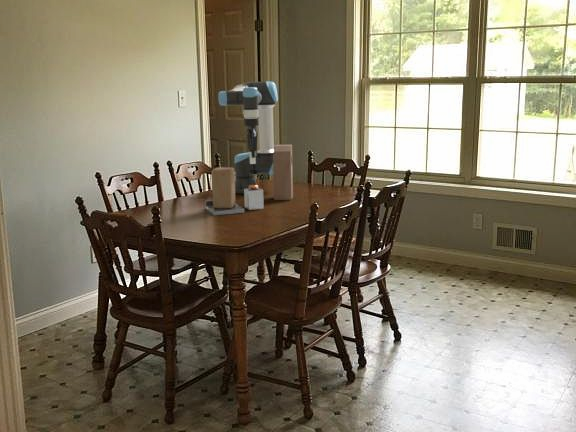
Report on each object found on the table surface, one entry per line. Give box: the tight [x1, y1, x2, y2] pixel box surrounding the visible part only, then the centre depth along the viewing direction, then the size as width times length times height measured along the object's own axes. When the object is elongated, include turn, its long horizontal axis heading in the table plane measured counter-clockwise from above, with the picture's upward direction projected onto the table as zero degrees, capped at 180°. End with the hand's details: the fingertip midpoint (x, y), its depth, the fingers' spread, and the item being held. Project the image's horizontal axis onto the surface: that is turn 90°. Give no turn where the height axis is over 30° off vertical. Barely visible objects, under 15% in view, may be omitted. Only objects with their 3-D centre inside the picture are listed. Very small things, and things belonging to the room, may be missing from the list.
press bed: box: [204, 199, 245, 216], centre depth 330 cm, size 18×16×4 cm
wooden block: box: [211, 167, 237, 208], centre depth 328 cm, size 10×10×20 cm
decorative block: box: [272, 144, 294, 201], centre depth 357 cm, size 10×10×30 cm
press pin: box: [249, 184, 259, 190], centre depth 334 cm, size 5×5×11 cm
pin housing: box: [243, 186, 265, 211], centre depth 334 cm, size 8×8×10 cm
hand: (252, 163), depth 331 cm, fingers closed
